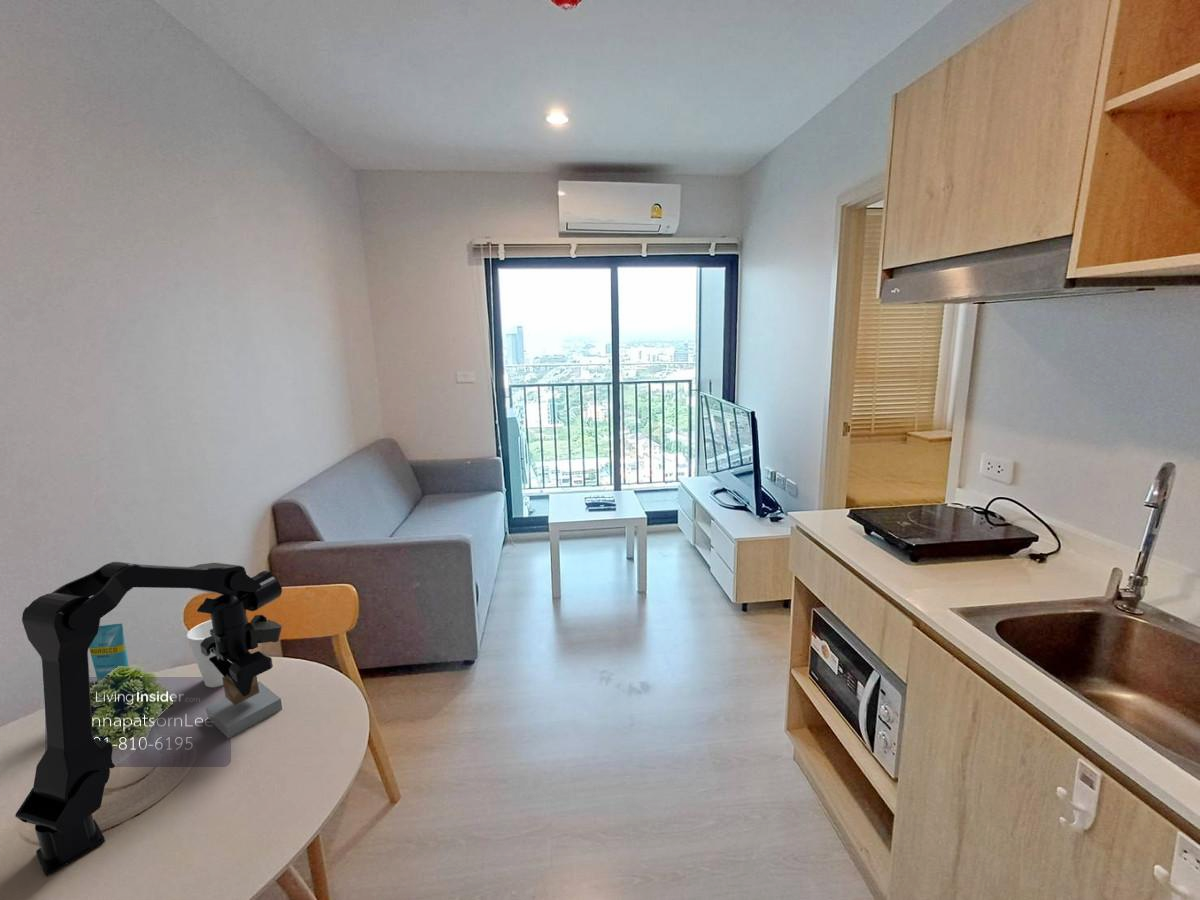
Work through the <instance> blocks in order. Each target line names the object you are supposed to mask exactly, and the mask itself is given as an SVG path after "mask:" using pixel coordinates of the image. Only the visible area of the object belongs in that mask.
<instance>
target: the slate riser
mask: <svg viewBox="0 0 1200 900" xmlns="http://www.w3.org/2000/svg"><path fill="white" fill-rule="evenodd" d="M257 682H258V688H259V693H258V694H256V695H254V696H252V697H250V698H248V699H246V700H244V701H242V702H240V703H238V704H236V705H234V704H233V703H232V702H231V701H230V700H229V699H227V698H226V697H225V698H223V699H221V700H219V701H216V702H215V703H212V704H210V705H208V706H207V707H205V709H206V716H207V719H208V720H210V721H209V722H211V723H212V724H213V725H214V726H215V727H216V728H217V729H218V730H219V731H220V732H221V733H222V734H223V735H224V736H225V737H226V738H227V739H230V738H232V737H233V736H235V735H237V734H239V733H241V732H243V731H244V730H246V729H248V728H250V727H252V726H254V725H255V724H257V723H259V722H261V721H263V720H265V719H266V718H268V717H270V716H271V715H273V714H275V713H277V712H279V711H281V710H282V709H283V703H282V699H281V697H279V696H278V695H277V694H276V693H275V692H273V691H272V690H271V689H269V688H268V687H267V686H266V685H264V684H263V683H262V682H261V681H257Z"/></svg>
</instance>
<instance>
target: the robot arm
mask: <svg viewBox="0 0 1200 900" xmlns="http://www.w3.org/2000/svg"><path fill="white" fill-rule="evenodd" d="M134 588H146V589H147V588H148V589H149V588H154V589H156V588H157V589H158V588H159V589H162V588H163V589H191V590H196V591H199V592H204V593H205V592H206V593H212V594H220V595H218V596H216V597H214V598H211V597H210V598H208V597H206V598H205V599H204V602H203V603H202V604H201V605H199V607H198V608H197V609H196V612H198V613H202V614H203V613H204V614H207V615H209V614H210V620H212V626H213V629H211V630H210V635H212V636H210V637H208V638H205V639H204V640H203V642H202V643H201V644H200V647H201V652H202V653H203V654H204V655H205V656H209V655H210V653H211V652H212V653H213V657H211V658H210V659H209V661H210V662H211V663H212V664H213V665H214V666H215V667H216V668H217V669H218V671H219V672H220V673H221V674H222V675H223V676H224V677H225V676H228V678H229V679H230V680H231V681H232V683H233V684H234V685H235V686H236V688H237V689H238V690H239V691H240V693H241V694H242V695H243V696H246V695H248V694H249V693H250V690H251V686H252V681H253V677H255V676H257V677H258V676H259V675H261V674H263V673H265V672H267V671H269V670H271V669H272V668H273V667H274V665H273V659H272V657H270V656H269V655H268V654H266V653H265V652H262V651H260V650H257V651H255V652H253V653H252V652H251V651H252V650H255V649H256V648H259V644H265V643H278V642H279V640H280V637H281V632H282V628H283V625H282V624H279V623H278V622H276V621H273V620H271V619H268V620H267V617H266V615H264V614H255V615H254V616H253V618H252V619H251V620H250V621H249V619H248V616H247V615H248V614H247V611H249V612H255V611H257V610H259V609H261V608H263V607H264V606H266V605H268V604H270V603H271V602H273V601H274V600H277V599H278V598H280V597H281V595H282V593H283V592H282V591H283V587H282V585H281V584H280V582H279V580H278V579H276V578H275V577H274V576H273V574H272V571H270V570H269V571H268V570H267V571H266V570H262V571H261V572H259V573H257V574H256V575H255V576H252V577H250V575H248V574H247V571H246V568H245V567H244V566H242V565H239V564H238V565H237V564H231V563H230V564H228V563H222V562H221V563H220V562H210V563H202V564H201V563H200V564H197V565H193V566H176V565H175V566H174V565H173V566H172V565H156V564H155V565H154V564H153V565H151V564H137V563H130V562H124V561H123V562H121V561H111V562H109V563H107V564H104V565H103V566H101V567H99V568H97V569H96V570H95V571H93V572H91V573H89V574H87V575H84V576H82V577H79V578H76V579H74V580H73V581H70V582H67V583H65V584H63V585H62V586H60V587H58V588H57V589H55V590H53V591H52V592H51V593H50V592H49V593H46V594H44V595H41V596H39V597H37V598H36V599H34V600H33V601H32V602H31V603H30V604H29V605H28V606H27V607H25V608H24V610H23V612H22V615H21V616H22V617H21V622H22V625H23V627H24V628H23V629H24V630H25V634H26V637H27V640H28V641H29V643H30V644H31V645H32V647H33V648H34V649H35V651H36V652H37V653H38V655H39V657H40V658H41V665H42V669H41V670H42V682H43V697H44V700H43V701H44V713H45V714H44V715H45V727H46V728H45V729H46V730H45V731H46V743H47V744H46V750H45V752H44V753H43V755H42V757H41V758H40V759H39V761H38V763H37V764H36V768H35V774H34V780H33V787H32V789H30V791H29V793H28V795H27V796H26V798H24V801H23V802H22V804H21V805H20V807H19V808H18V810H17V811H16V813H15V815H14V816H15V818H16V819H18V820H20V821H21V822H23V823H26V824H27V823H28V824H32V825H35V826H34V830H35V835H36V837H37V840H38V844H39V847H40V848H38V849H37V850H36V851H35V854H36V857H37V858H38V861H39V864H40V866H41V868H42V871H43V874H44V876H45V877H47V876H50V875H52V874H53V873H55V872H57V871H59V870H60V869H62V868H64V867H65V866H68V865H70V864H71V863H72V862H74V861H76V860H77V859H79V858H81V857H82V856H84V855H86V854H88V853H89V852H90V851H92V850H94V849H96V848H97V847H100V846H101V845H102V844H104V843H105V842H106V839H105V838H106V837H105V836H104V834H103V832H102V830H101V828H100V827H99V825H98V823H97V821H96V820H95V818H94V816H93V813H95V812H97V811H98V810H99V809H101V807H102V802H103V797H104V796H103V795H104V791H105V786H106V784H108V782H109V779H110V777H111V776H110V774H111V769H114V768H115V766H116V765H115V764H114V762H113V760H112V758H113V757H112V756H113V755H112V754H113V744H112V742H109V741H105V740H101V739H96V738H94V735H93V721H92V720H93V719H92V703H91V700H92V699H91V683H90V667H89V646H90V645H91V643H92V642H93V640H94V638H95V637H96V635H97V633H98V631H99V626H101V625H100V624H101V619H102V618H103V617H104V616H106V615H107V614H109V613H110V612H111V611H113V610H114V609H115V608H116V607H117V606H118V605H119V604H120V602H121V601H122V599H123V598H124V597H125V595H126V594H127V593H128V592H129V591H131V590H132V589H134ZM211 648H212V649H211ZM210 650H211V652H210ZM250 650H251V651H250Z"/></svg>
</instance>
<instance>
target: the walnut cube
mask: <svg viewBox="0 0 1200 900" xmlns="http://www.w3.org/2000/svg"><path fill="white" fill-rule="evenodd" d="M222 680H223V685H222V686H223V690H224V696H225V698H227V699H229V700H230V701H231V702H232V703H233V704H234V705H236V704H238V703H240V702H242V701H244V700H246V699H248V698H250V697H252V696H254V695H256V694H258V693H259V688H258V682H259V681H258V675H257V676H255V677H253V681H252V686H251V690H250V693H249V694H248V695H246V696H243V695H242V694H241V693H240V691H239V690H238V689H237V688H236V686H235V685H234V684H233V683H232V681H231V680H230V679H229V678H228V676H225V677H222Z"/></svg>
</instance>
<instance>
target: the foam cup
mask: <svg viewBox="0 0 1200 900" xmlns="http://www.w3.org/2000/svg"><path fill="white" fill-rule="evenodd" d="M211 629H213V626H212V620H211V619H209V620H206V621H204V622H202V623H199V624H197V625H195V626H194V627H192V628H191V629H189V631H188V632H187V633H186V638H187V642H188V646H189V648H190V649H191V651H192V653H193V656H194V658H195V661H196V664H197V666H198V669H199V672H200V674H201V677H202V680H203V683H204V685H205V687H208V688H218V687H221V686H224V685H223V680H222V677H224V676H223V675H222V674H221V673H220V672H219V671H218V669H217V668H216V667H215V666H214V665H213V664H212V663H211V662H210V661H209V659H210V658H211V657H213V653H212V652H211V650H210V652H211V653H210V655H209V656H205V655H204V654H203V653H202V652H201V647H200V644H201V643H202V642H203V640H204V639H205V638H208V637H210V636H212V635H210V630H211ZM211 649H212V648H211Z"/></svg>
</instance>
